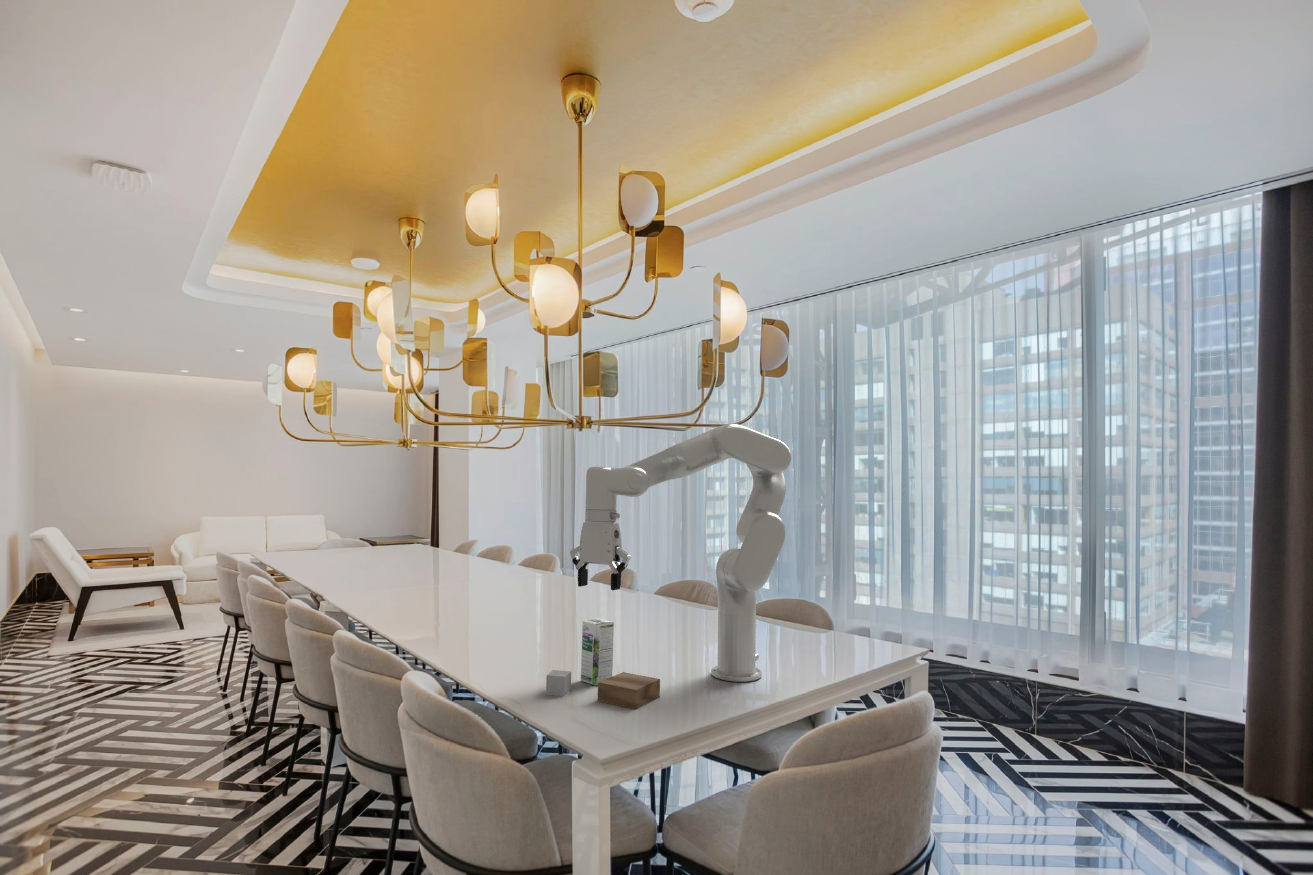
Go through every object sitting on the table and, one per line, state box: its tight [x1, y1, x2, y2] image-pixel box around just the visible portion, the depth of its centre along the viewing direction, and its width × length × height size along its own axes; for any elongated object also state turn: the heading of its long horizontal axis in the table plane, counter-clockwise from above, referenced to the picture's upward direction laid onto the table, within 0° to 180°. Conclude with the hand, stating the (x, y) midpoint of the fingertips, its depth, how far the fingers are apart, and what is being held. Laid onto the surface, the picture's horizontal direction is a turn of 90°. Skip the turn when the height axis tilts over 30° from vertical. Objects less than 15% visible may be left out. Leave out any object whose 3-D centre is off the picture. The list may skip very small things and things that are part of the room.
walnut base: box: [597, 671, 661, 710], centre depth 154 cm, size 10×10×4 cm
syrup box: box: [580, 618, 615, 686], centre depth 168 cm, size 6×6×14 cm
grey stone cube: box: [545, 669, 572, 697], centre depth 158 cm, size 4×4×4 cm
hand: (598, 587), depth 168 cm, fingers open, 9 cm apart
